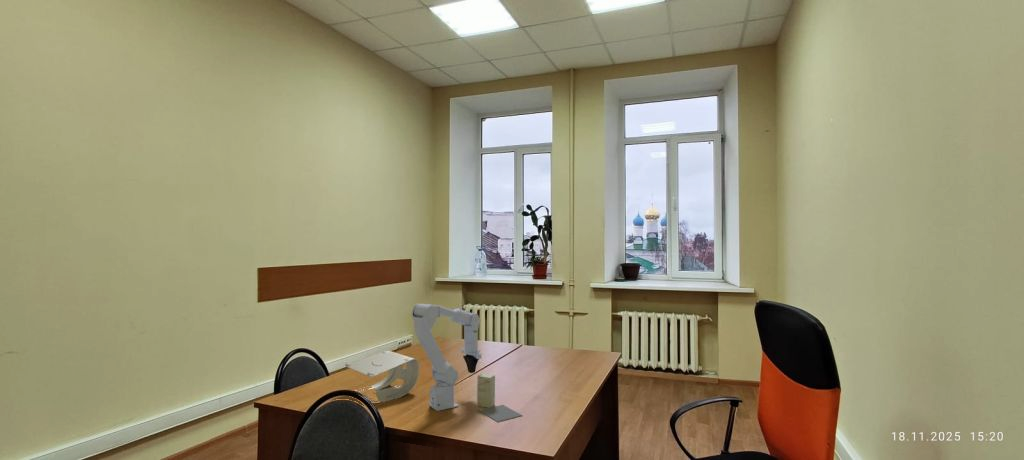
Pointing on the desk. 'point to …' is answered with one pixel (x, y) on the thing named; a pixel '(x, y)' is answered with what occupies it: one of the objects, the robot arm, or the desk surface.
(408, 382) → the portable electronic device stand
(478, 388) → the skincare box
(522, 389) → the desk surface
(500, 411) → the mat
